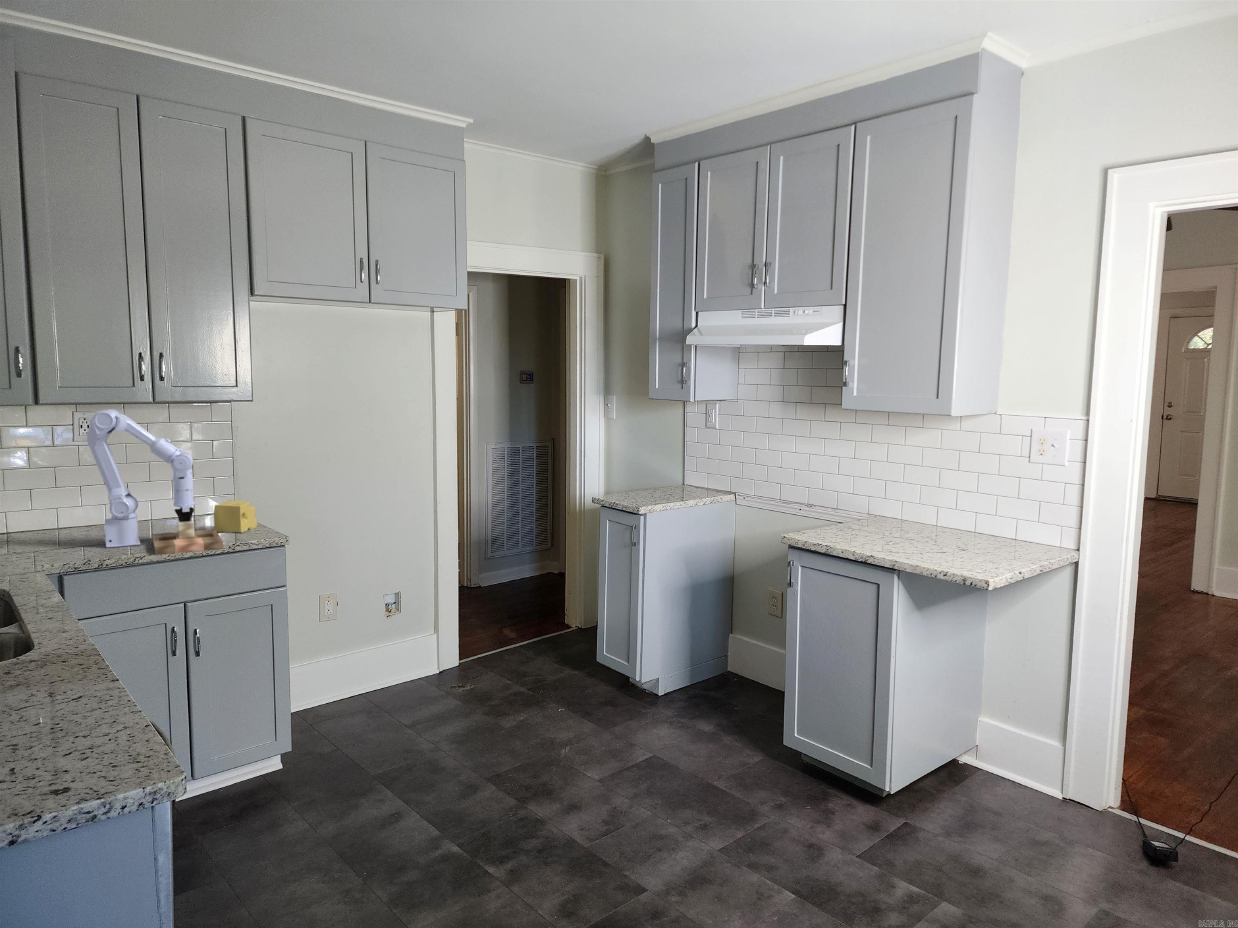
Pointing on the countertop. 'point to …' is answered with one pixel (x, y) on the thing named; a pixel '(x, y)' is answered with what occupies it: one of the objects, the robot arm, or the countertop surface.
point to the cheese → (234, 516)
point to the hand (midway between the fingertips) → (185, 530)
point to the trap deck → (186, 542)
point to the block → (185, 529)
